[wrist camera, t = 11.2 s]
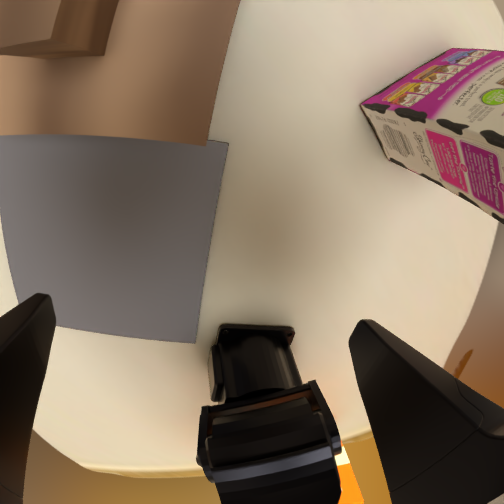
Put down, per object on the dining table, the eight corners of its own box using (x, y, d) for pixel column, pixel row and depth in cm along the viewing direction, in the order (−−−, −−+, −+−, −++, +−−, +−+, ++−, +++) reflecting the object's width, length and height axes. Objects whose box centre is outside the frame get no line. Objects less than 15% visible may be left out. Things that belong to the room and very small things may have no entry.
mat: (228, 142, 17) (228, 144, 17) (195, 340, 24) (195, 343, 24) (-1, 130, 13) (-4, 131, 13) (25, 315, 20) (23, 318, 20)
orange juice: (269, 413, 32) (307, 561, 15) (330, 409, 35) (378, 537, 18) (251, 439, 36) (278, 564, 19) (306, 435, 38) (342, 547, 21)
